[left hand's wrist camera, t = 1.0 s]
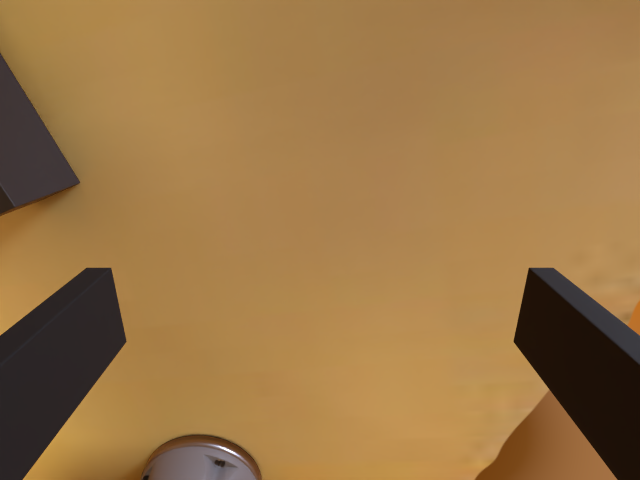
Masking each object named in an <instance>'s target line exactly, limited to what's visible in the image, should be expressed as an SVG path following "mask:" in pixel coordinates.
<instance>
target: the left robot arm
mask: <svg viewBox="0 0 640 480" xmlns="http://www.w3.org/2000/svg"><path fill="white" fill-rule="evenodd" d="M125 343H126V337H125V332H124V328H123V323H122V318H121V313H120V308H119V304H118V299H117V294H116V289H115V284H114V280H113V275H112V270H111V268H86V269H85V270H83V271H82V272H81V273H80V274H78V275H77V276H76V277H74V278H73V279H72V280H71V281H69V282H68V283H67V284H66V285H64V286H63V287H62V288H60V289H59V290H58V291H57V292H55V293H54V294H53V295H52V296H50V297H49V298H48V299H46V300H45V301H44V302H43V303H41V304H40V305H39V306H37V307H36V308H35V309H34V310H32V311H31V312H30V313H29V314H27V315H26V316H25V317H23V318H22V319H21V320H20V321H18V322H17V323H16V324H15V325H13V326H12V327H11V328H9V329H8V330H7V331H6V332H4V333H3V334H2V335H1V336H0V480H23V478H24V477H25V476H26V474H27V473H28V472H29V470H30V469H31V468H32V466H33V465H34V464H35V462H36V461H37V460H38V458H39V457H40V456H41V454H42V453H43V452H44V450H45V449H46V448H47V446H48V445H49V444H50V442H51V441H52V440H53V438H54V437H55V436H56V434H57V433H58V432H59V430H60V429H61V428H62V426H63V425H64V424H65V422H66V421H67V420H68V419H69V417H70V416H71V415H72V413H73V412H74V411H75V409H76V408H77V407H78V405H79V404H80V403H81V401H82V400H83V399H84V397H85V396H86V395H87V393H88V392H89V391H90V389H91V388H92V387H93V385H94V384H95V383H96V381H97V380H98V379H99V377H100V376H101V375H102V373H103V372H104V371H105V369H106V368H107V367H108V365H109V364H110V363H111V361H112V360H113V359H114V357H115V356H116V355H117V354H118V352H119V351H120V350H121V348H122V347H123V346H124V344H125ZM514 343H515V344H516V346H517V347H518V348H519V350H520V351H521V352H522V354H523V355H524V356H525V357H526V359H527V360H528V361H529V363H530V364H531V365H532V367H533V368H534V369H535V371H536V372H537V373H538V375H539V376H540V377H541V379H542V380H543V381H544V383H545V384H546V385H547V387H548V388H549V389H550V391H551V392H552V393H553V395H554V396H555V397H556V399H557V400H558V401H559V403H560V404H561V405H562V406H563V408H564V409H565V410H566V412H567V413H568V415H569V416H570V417H571V418H572V420H573V421H574V422H575V424H576V425H577V426H578V428H579V429H580V430H581V432H582V433H583V434H584V436H585V437H586V438H587V440H588V441H589V442H590V444H591V445H592V446H593V448H594V449H595V450H596V452H597V453H598V454H599V456H600V457H601V458H602V460H603V461H604V462H605V464H606V465H607V466H608V468H609V469H610V470H611V471H612V473H613V474H614V476H615V477H616V478H617V479H618V480H640V336H639V335H638V334H637V333H636V332H634V331H633V330H632V329H631V328H629V327H628V326H627V325H625V324H624V323H623V322H622V321H620V320H619V319H618V318H617V317H615V316H614V315H613V314H611V313H610V312H609V311H608V310H606V309H605V308H604V307H603V306H601V305H600V304H599V303H597V302H596V301H595V300H594V299H592V298H591V297H590V296H588V295H587V294H586V293H585V292H583V291H582V290H581V289H580V288H578V287H577V286H576V285H574V284H573V283H572V282H571V281H569V280H568V279H567V278H566V277H564V276H563V275H562V274H560V273H559V272H558V271H557V270H555V269H554V268H529V270H528V275H527V279H526V284H525V289H524V294H523V299H522V304H521V308H520V313H519V318H518V323H517V328H516V332H515V337H514Z"/></svg>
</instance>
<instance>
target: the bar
mask: <svg viewBox="0 0 640 480" xmlns="http://www.w3.org/2000/svg"><path fill="white" fill-rule="evenodd" d="M79 183H80V182H79V180H78V178H77V177H76V175H75V174H74V172H73V170H72V169H71V167H70V166H69V164H68V162H67V161H66V159H65V157H64V156H63V154H62V153H61V151H60V149H59V148H58V146H57V145H56V143H55V141H54V140H53V138H52V136H51V135H50V133H49V132H48V130H47V128H46V127H45V125H44V123H43V122H42V120H41V119H40V117H39V115H38V114H37V112H36V111H35V109H34V107H33V106H32V104H31V102H30V101H29V99H28V98H27V96H26V94H25V93H24V91H23V90H22V88H21V86H20V85H19V83H18V81H17V80H16V78H15V77H14V75H13V73H12V72H11V70H10V68H9V67H8V65H7V64H6V62H5V60H4V59H3V57H2V56H1V54H0V216H2V215H4V214H7V213H9V212H12V211H14V210H17V209H20V208H22V207H25V206H27V205H30V204H32V203H35V202H37V201H40V200H42V199H44V198H47V197H49V196H51V195H54V194H56V193H58V192H60V191H63V190H65V189H67V188H70V187H72V186H74V185H77V184H79Z"/></svg>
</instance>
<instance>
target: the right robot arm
mask: <svg viewBox="0 0 640 480" xmlns="http://www.w3.org/2000/svg"><path fill="white" fill-rule="evenodd" d="M141 480H261V475H260V471H259V469H258V466H257V465H256V463H255V461H254V460H253V459H252V458H251V456H250V455H249V454H247V453H246V452H245V451H244V450H243V449H241V448H240V447H238V446H236V445H235V444H233V443H231V442H228V441H226V440H223V439H219V438H216V437H211V436H199V435H198V436H186V437H181V438H177V439H174V440H171V441H169V442H167V443H165V444H163V445H162V446H160V447H159V448H158V449H157V450H156V451H155V452H154V453H153V454H152V455H151V457H150V458H149V460H148V462H147V464H146V467H145V469H144V471H143V473H142V476H141Z"/></svg>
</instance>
